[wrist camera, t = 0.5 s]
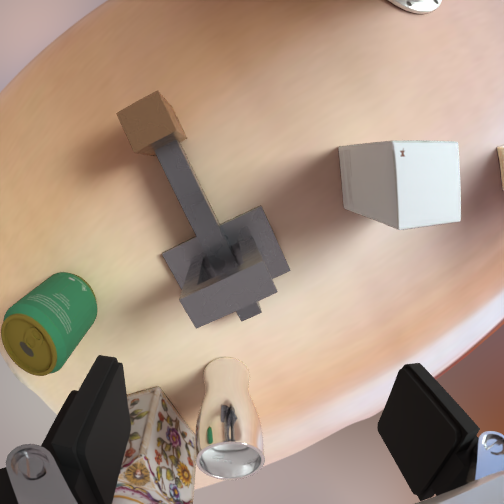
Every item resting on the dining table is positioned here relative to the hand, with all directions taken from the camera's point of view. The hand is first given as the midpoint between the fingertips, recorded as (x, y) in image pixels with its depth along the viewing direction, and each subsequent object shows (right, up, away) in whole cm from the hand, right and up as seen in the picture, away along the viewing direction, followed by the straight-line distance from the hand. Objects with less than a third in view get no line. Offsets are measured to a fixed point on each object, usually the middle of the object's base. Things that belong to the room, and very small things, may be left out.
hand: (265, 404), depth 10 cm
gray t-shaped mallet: (-6, +9, +25) cm, 27 cm away
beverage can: (-23, -1, +27) cm, 35 cm away
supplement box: (+13, +14, +26) cm, 32 cm away
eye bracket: (-3, +4, +27) cm, 27 cm away
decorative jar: (-16, -20, +32) cm, 41 cm away
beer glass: (-4, -11, +31) cm, 33 cm away
